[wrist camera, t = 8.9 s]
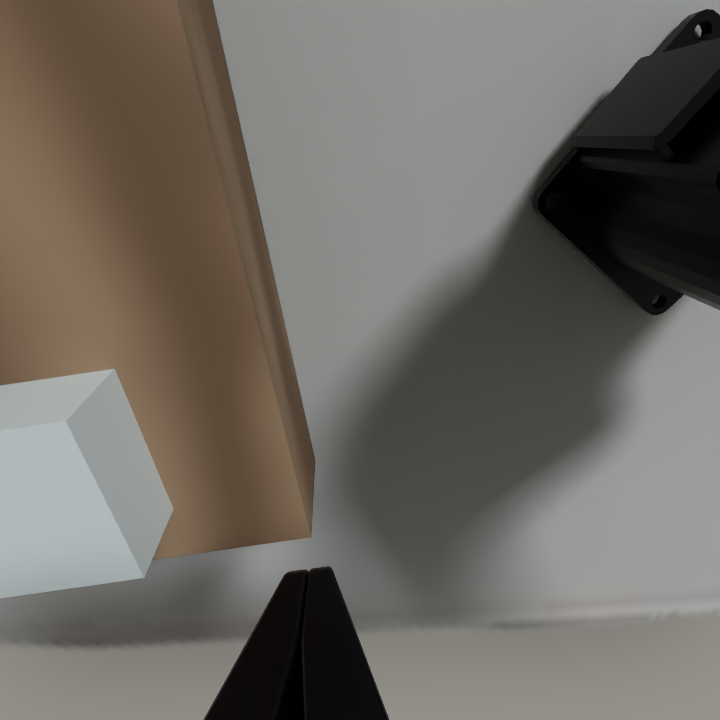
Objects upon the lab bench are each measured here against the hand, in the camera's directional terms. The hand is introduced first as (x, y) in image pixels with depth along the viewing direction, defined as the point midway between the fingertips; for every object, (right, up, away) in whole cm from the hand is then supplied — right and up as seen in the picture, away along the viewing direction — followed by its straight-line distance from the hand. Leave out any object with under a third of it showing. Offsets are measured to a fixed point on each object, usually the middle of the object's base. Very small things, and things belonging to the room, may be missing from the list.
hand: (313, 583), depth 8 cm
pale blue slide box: (-9, +1, +5) cm, 11 cm away
